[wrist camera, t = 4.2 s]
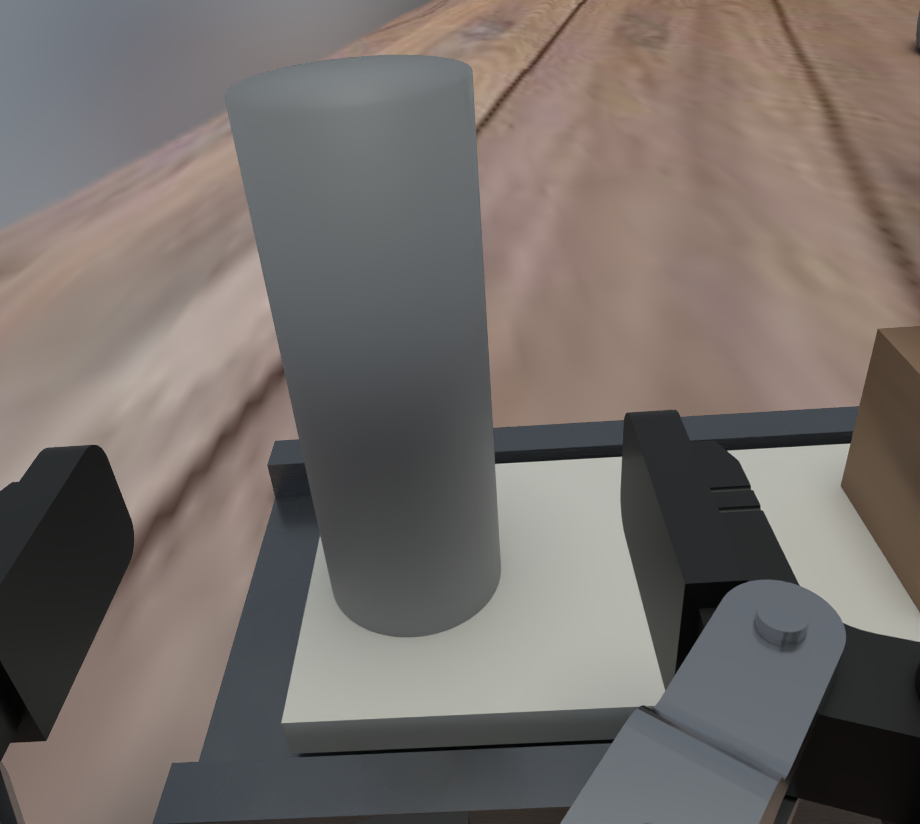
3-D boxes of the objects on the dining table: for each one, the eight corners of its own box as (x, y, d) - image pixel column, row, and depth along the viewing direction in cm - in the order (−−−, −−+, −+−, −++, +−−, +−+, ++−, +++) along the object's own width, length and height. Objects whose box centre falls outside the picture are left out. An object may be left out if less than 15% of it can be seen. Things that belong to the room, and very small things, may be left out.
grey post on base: (1131, 456, 22) (1367, -39, 16) (1415, 702, 16) (2025, 25, 9) (338, 501, 23) (249, 47, 17) (290, 753, 17) (110, 163, 10)
